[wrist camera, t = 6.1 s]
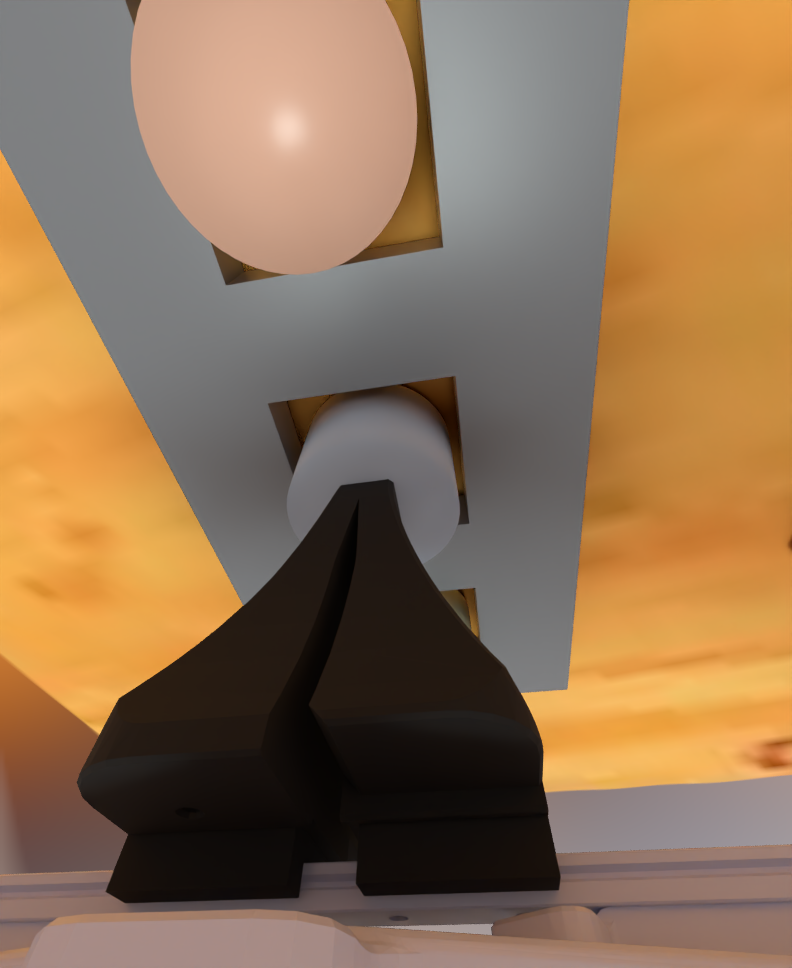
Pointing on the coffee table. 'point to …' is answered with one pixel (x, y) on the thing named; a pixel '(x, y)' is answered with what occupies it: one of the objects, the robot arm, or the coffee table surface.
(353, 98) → the terracotta button
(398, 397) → the slate button
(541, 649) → the grey slotted board
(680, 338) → the coffee table surface
